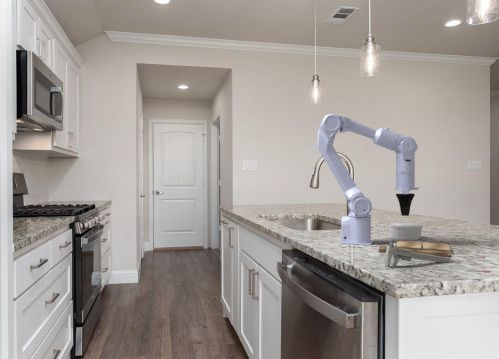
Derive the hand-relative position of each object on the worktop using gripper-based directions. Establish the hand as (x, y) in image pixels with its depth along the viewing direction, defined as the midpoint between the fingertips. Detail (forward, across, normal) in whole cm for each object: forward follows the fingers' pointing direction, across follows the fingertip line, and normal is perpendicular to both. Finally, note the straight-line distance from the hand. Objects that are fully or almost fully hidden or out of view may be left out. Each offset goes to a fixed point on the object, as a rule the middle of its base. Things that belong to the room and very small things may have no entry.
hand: (405, 215), depth 125 cm
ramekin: (+10, +12, 0) cm, 15 cm away
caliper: (+10, -30, -4) cm, 32 cm away
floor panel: (+9, -17, -2) cm, 20 cm away
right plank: (+9, -9, -8) cm, 15 cm away
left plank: (+9, -9, -1) cm, 13 cm away
